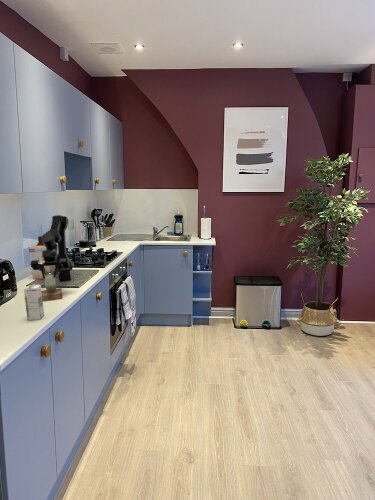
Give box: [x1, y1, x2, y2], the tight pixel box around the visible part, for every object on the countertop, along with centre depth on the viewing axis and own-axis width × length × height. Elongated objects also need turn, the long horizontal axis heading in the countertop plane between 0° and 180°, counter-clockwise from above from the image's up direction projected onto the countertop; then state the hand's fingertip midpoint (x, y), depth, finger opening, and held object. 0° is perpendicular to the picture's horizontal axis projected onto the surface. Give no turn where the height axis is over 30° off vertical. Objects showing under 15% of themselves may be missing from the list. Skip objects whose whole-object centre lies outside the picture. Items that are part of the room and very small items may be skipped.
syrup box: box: [23, 284, 45, 321], centre depth 168 cm, size 6×6×14 cm
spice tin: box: [44, 271, 57, 291], centre depth 197 cm, size 5×5×9 cm
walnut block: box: [41, 287, 63, 303], centre depth 198 cm, size 10×10×3 cm
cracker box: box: [28, 245, 57, 281], centre depth 237 cm, size 14×6×21 cm, turn 71°
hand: (49, 277), depth 195 cm, fingers closed on spice tin, 5 cm apart
